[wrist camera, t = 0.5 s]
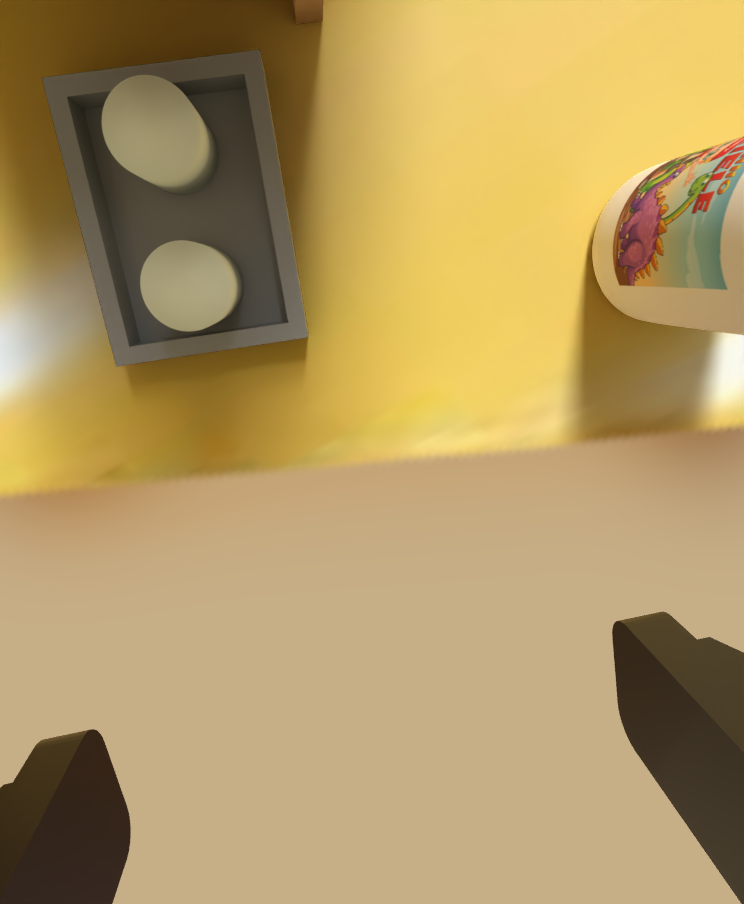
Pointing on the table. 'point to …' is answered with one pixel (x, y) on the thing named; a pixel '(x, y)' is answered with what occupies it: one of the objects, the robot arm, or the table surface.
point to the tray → (184, 207)
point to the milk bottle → (678, 242)
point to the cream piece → (190, 285)
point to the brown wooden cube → (308, 10)
